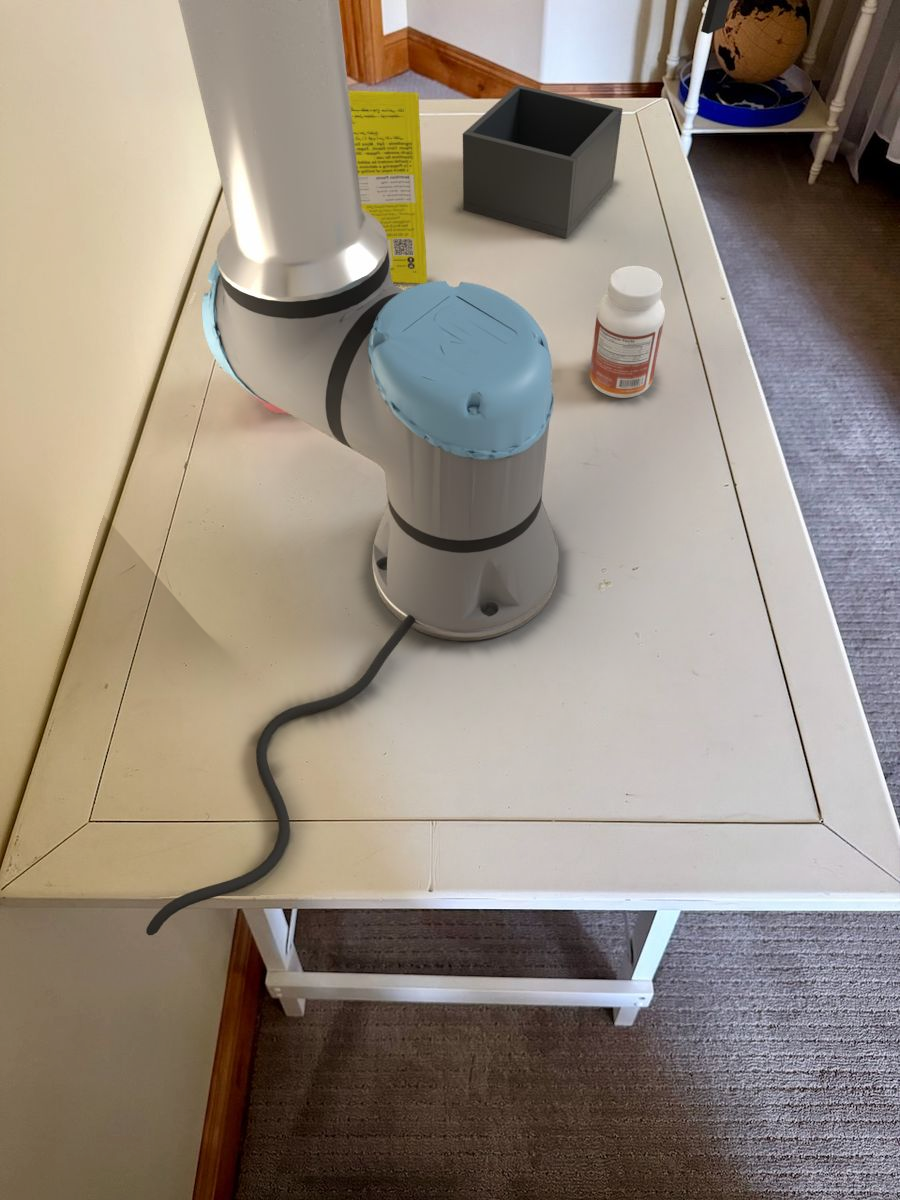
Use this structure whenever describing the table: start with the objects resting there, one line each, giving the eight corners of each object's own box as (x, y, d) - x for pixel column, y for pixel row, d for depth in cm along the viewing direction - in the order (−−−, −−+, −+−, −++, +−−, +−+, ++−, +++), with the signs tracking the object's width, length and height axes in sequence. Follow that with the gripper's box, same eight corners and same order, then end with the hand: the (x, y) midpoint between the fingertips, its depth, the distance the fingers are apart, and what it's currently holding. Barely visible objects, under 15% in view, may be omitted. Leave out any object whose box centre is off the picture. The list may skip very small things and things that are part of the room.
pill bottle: (614, 351, 91) (629, 251, 82) (664, 377, 88) (685, 277, 80) (575, 381, 88) (587, 282, 80) (626, 409, 86) (644, 309, 77)
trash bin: (566, 238, 104) (573, 161, 96) (463, 209, 108) (462, 133, 101) (613, 184, 111) (622, 108, 103) (514, 158, 115) (517, 84, 108)
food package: (427, 281, 99) (418, 90, 83) (426, 287, 98) (417, 95, 82) (291, 275, 100) (256, 86, 84) (289, 281, 100) (254, 91, 84)
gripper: (901, -303, 62) (789, 39, 78) (607, -352, 72) (561, -37, 88) (856, -302, 58) (748, 59, 74) (551, -353, 68) (514, -24, 84)
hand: (647, 7), depth 81 cm, fingers open, 13 cm apart
